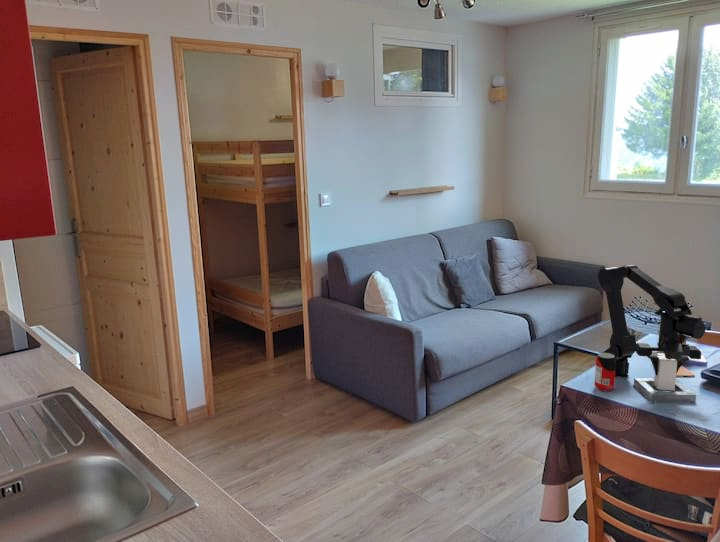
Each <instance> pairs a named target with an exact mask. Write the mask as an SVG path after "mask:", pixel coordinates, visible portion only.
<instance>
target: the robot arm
mask: <svg viewBox="0 0 720 542" xmlns="http://www.w3.org/2000/svg"><path fill="white" fill-rule="evenodd" d="M625 278H627V279H628V280H629V281H631V282H632V283H634V284H635V285H636V286H637V287H639V288H640V289H641V290H642V291H644V292H646V293H647V295H649V296H651V298H652V300H653V302H654V303H655V304H656V306H657V307H658V308H659V309H658V310H656V311H655V312H654V315H656V316H660V319H659V329H658V330H657V331H658V340H657V343H656V344H657V345H656V347H655V346H651V345H650V344H649V343H643V342H640V343H639V342H637V340H636V335H635V334H631V333H630V332H629V331H628V325H627V320H626V315H625V313H626V312H625V308H624V302H623V295H622V288H623V286H624V283H625V281H624V279H625ZM597 279H598V283H599V286H600V288H601V289H602V290H603V291H604V292H605V294H606V300H607V307H608V313H609V319H610V324H611V330H612V331H611V332H612V333H611V336H610V339H609V347H607V348H606V349H605V350H604V351H602V353H610V354H613V355H614V356H615V357H614V358H615V360H616V371H615V378H629V377H630V376H629V370H630V369H629V368H630V362H629V359H630V358H632V357H633V355H634V353H636V355H637V356H638V357H647V358H648V359H649V360H650V361H651V365H652V368H653V372H654V375H655V374H656V375H657V374H658V359H659V358H658V357H657V356H658V354H664V356H665V358H667V359H675V360H676V361H677V370H676V374H677V372H678V370H679V368H680V367H681V366H683V364H684V363H685V362H687V361H690V359H691V360H701V359H702V351H701V350H700V349H699V348H697V346H695V345H690V344H688V343H686V344H680V336H679V334H681V335H685V336H687V338H689V337H690V338H693V339H696V340H700V339H702V338H703V336H704V335H705V333H706V326H705V323H704V321H703V317H701V316H694V315H693V312H692V310H691V309H690V307H689V305H688V302H686V297H685V295H684V294H683V293H682V292H679V291H677V290H675V289H674V288H669V287H666V286H664V285H662V284H661V283H659V282H658V281H657V280H655V279H654V278H652V276H650V275H648V273H645V272H644V271H642V269H640V268H639V267H638V266H637V265H636V264H626V265H623V266H620V267H619V266H612V267H603V268H601V269H600V270H599V271H598V272H597Z"/></svg>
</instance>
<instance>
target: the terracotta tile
mask: <svg viewBox="0 0 720 542" xmlns="http://www.w3.org/2000/svg"><path fill="white" fill-rule="evenodd" d="M683 376H694V377H693V378H695V377H696V375H695V374H694V373H692V372H691V371H690V370H689V369H687V367H686V368H685V367H684V366H683V365H681V367H680V368H679V370H678V372H677V374H676V378H677V377H678V378H681V377H683ZM683 378H684V377H683Z"/></svg>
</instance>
